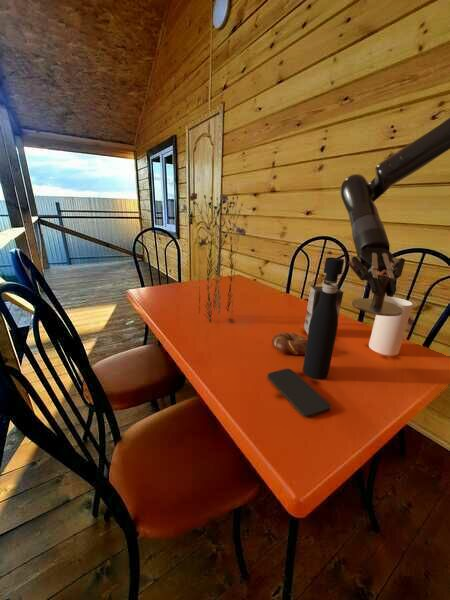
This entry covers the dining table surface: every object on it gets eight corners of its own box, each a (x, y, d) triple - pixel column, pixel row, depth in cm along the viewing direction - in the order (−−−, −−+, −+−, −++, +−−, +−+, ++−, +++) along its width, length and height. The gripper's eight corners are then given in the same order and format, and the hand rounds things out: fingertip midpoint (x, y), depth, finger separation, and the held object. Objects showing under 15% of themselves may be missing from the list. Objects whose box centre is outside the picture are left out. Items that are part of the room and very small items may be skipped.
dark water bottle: (297, 370, 67) (314, 257, 58) (311, 362, 71) (329, 255, 61) (318, 383, 63) (340, 262, 53) (333, 374, 66) (356, 260, 56)
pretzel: (311, 343, 82) (313, 333, 81) (310, 360, 72) (312, 349, 71) (274, 336, 85) (275, 326, 84) (268, 352, 76) (269, 341, 75)
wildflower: (223, 304, 114) (227, 196, 99) (256, 322, 96) (266, 193, 81) (176, 313, 102) (173, 192, 87) (203, 336, 84) (204, 188, 69)
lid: (389, 302, 68) (396, 272, 65) (412, 318, 57) (422, 283, 55) (346, 299, 69) (351, 270, 66) (361, 314, 59) (368, 280, 56)
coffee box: (308, 336, 87) (315, 291, 81) (303, 327, 93) (309, 285, 87) (335, 337, 86) (344, 292, 81) (328, 329, 93) (336, 286, 87)
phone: (305, 416, 51) (265, 373, 64) (305, 419, 51) (265, 376, 64) (333, 406, 54) (289, 367, 67) (332, 409, 54) (289, 370, 67)
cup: (376, 355, 76) (390, 305, 71) (363, 341, 84) (374, 296, 79) (404, 356, 76) (419, 306, 71) (389, 343, 84) (401, 297, 78)
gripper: (349, 226, 64) (363, 286, 56) (404, 227, 64) (426, 288, 56) (337, 244, 71) (348, 300, 63) (387, 246, 71) (404, 302, 63)
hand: (385, 294), depth 60 cm, fingers closed on lid, 2 cm apart
